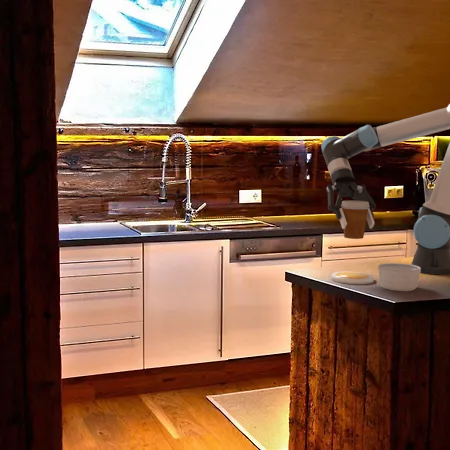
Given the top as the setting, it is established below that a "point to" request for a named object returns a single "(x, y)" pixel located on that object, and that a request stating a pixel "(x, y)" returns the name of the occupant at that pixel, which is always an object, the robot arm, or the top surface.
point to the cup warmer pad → (352, 277)
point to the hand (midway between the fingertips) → (358, 226)
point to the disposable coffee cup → (355, 218)
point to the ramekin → (399, 276)
